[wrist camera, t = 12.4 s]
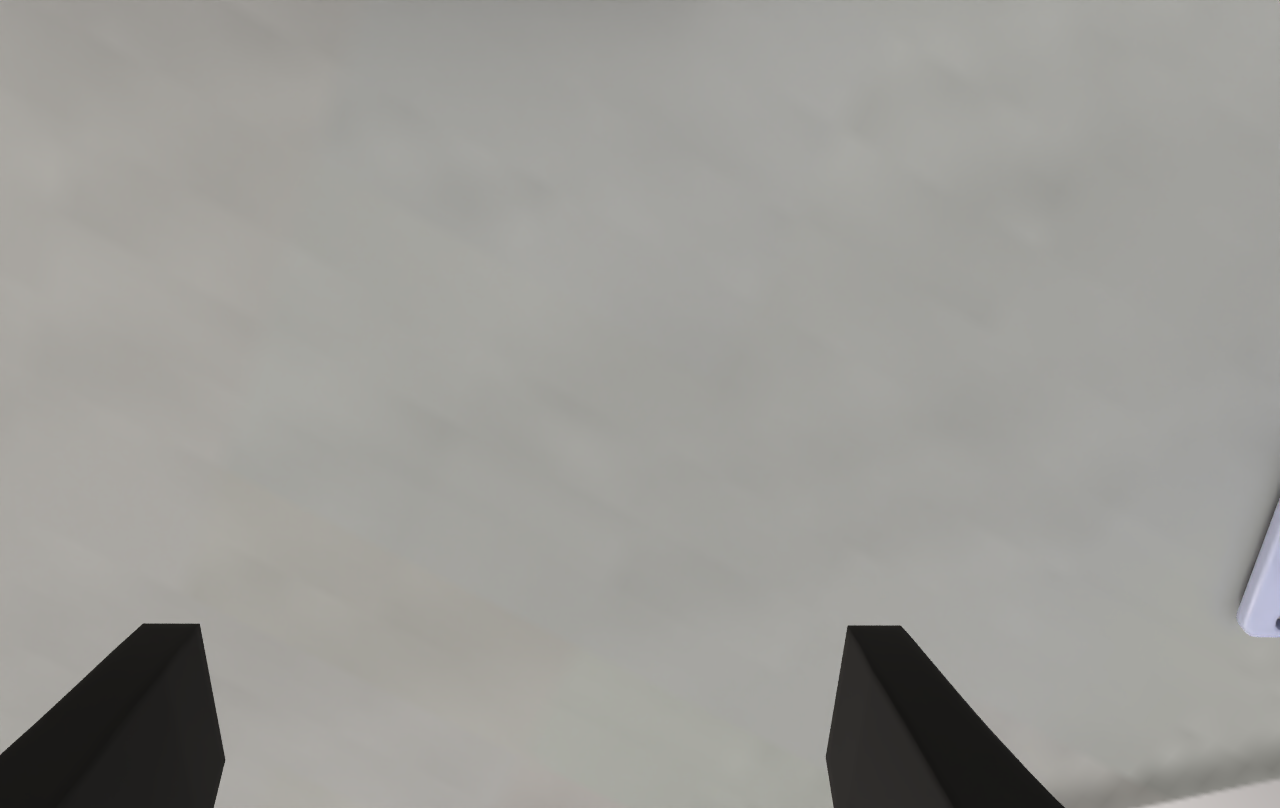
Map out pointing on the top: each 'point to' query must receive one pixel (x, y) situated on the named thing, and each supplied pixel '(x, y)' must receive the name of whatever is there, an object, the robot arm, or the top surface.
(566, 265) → the top surface
